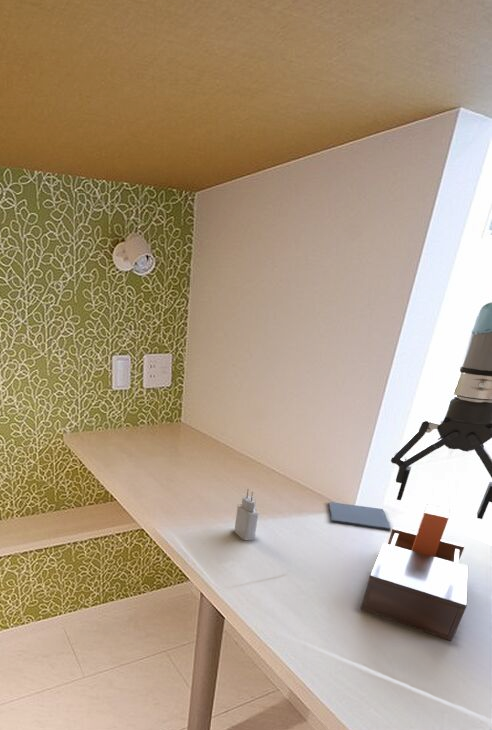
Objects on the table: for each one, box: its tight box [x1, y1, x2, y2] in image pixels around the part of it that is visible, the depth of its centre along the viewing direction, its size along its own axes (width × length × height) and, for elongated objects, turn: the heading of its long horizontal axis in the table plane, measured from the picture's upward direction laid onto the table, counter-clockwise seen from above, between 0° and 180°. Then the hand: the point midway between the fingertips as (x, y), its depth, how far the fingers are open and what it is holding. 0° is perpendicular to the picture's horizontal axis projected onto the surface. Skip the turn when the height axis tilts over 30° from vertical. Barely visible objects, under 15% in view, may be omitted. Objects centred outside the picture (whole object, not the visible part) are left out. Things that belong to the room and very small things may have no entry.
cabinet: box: [360, 542, 469, 642], centre depth 82 cm, size 15×15×8 cm
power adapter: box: [234, 488, 259, 541], centre depth 105 cm, size 3×5×12 cm, turn 20°
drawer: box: [387, 526, 465, 564], centre depth 92 cm, size 18×13×6 cm
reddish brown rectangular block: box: [412, 504, 451, 557], centre depth 89 cm, size 5×4×13 cm
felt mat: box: [328, 501, 392, 531], centre depth 117 cm, size 14×12×1 cm
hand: (437, 506), depth 86 cm, fingers open, 13 cm apart
